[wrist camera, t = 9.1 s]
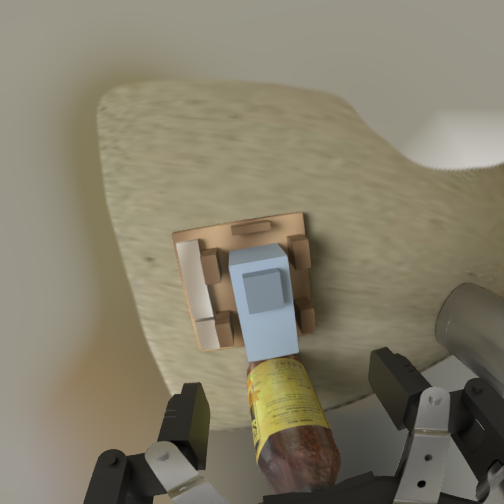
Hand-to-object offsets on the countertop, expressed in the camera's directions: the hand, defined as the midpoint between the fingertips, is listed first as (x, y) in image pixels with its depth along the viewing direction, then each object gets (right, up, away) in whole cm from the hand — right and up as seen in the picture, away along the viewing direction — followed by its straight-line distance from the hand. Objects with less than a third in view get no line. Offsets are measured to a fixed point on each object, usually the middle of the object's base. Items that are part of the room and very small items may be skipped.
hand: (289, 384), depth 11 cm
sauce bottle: (+1, -7, +16) cm, 17 cm away
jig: (-1, +3, +13) cm, 14 cm away
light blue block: (-1, +3, +12) cm, 13 cm away
